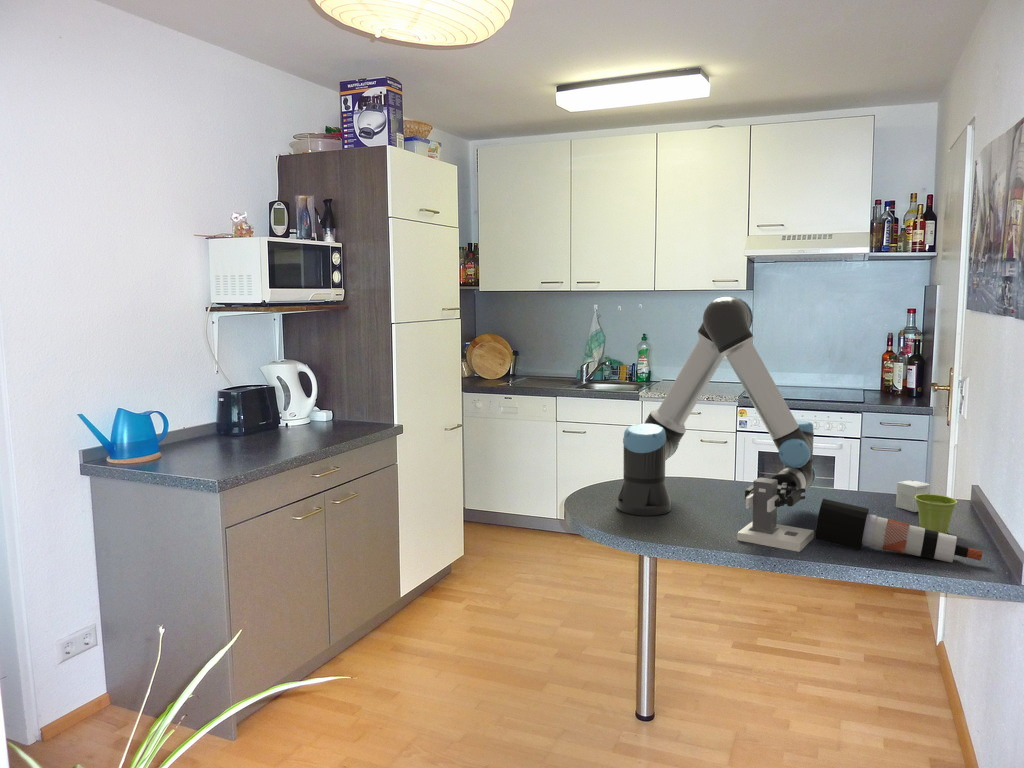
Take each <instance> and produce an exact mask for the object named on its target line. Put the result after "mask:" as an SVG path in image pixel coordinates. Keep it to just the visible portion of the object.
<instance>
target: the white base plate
mask: <svg viewBox="0 0 1024 768" xmlns="http://www.w3.org/2000/svg"><path fill="white" fill-rule="evenodd" d="M814 531H815V530H812V529H808V528H801V527H797V526H796V527H795V526H790V525H783V524H778V523H777V524H776V527H775V528H774V529H773V530H772V531H766V530H761V529H755V528H753V520H752V521H751V522H750V523H748V524H747V525H745V526H744V527H743V528H741V529H740V530H739V531H738V532H737V535H736V536H737V537H736V538H737V541H740V542H745V543H751V544H756V545H762V546H766V547H772V548H775V549H783V550H787V551H792V552H798V553H800V552H801V551H802V550H803V549H804V548H805V547H806V546H807V545H809V543H810V542H811V541H813V539H814V538H815V532H814Z"/></svg>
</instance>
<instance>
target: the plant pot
mask: <svg viewBox="0 0 1024 768" xmlns="http://www.w3.org/2000/svg"><path fill="white" fill-rule="evenodd" d="M915 499H916V502H917V505H918V521H919V522H918V523H919V525H918V526H919V527H921V528H925V529H927V530H932V531H936V532H938V533H943V534H948V531H949V528H950V523H951V521H952V520H951V519H952V514H953V512H954V509H955V507H956V505H957V504H958V500H956V499H955V498H952V497H949V496H946V495H940V494H933V493H930V494H919V495H916V496H915Z"/></svg>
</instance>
